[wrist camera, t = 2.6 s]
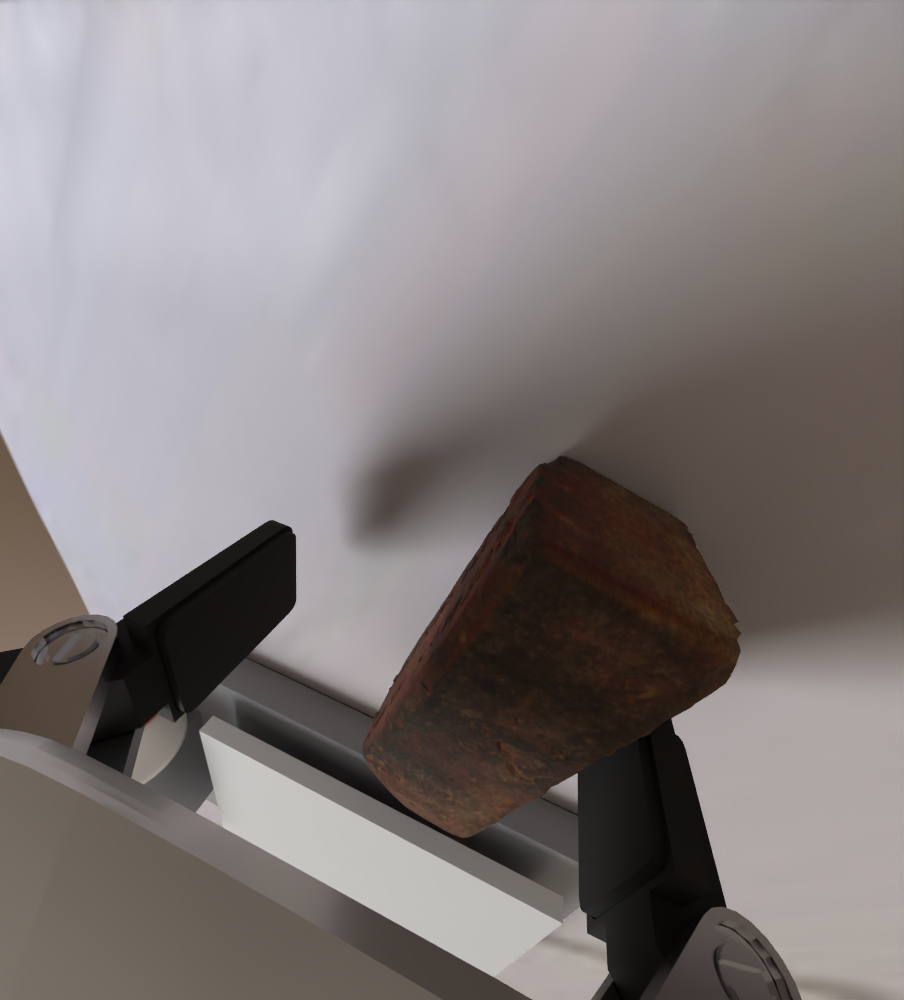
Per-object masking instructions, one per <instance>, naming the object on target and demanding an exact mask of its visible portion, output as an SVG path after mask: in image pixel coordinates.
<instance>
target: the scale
mask: <svg viewBox="0 0 904 1000" xmlns="http://www.w3.org/2000/svg"><path fill="white" fill-rule="evenodd" d="M372 721H373V718H371V717H369V716H367V715H365V714H362V713H360V712H358V711H356V710H354V709H352V708H350V707H348V706H346V705H344V704H341V703H339V702H337V701H335V700H333V699H331V698H329V697H327V696H325V695H323V694H320V693H318V692H316V691H314V690H312V689H310V688H308V687H306V686H304V685H302V684H299V683H297V682H295V681H293V680H291V679H289V678H287V677H285V676H283V675H281V674H278V673H276V672H274V671H272V670H270V669H268V668H266V667H264V666H262V665H260V664H257V663H255V662H253V661H251V660H249V659H247V658H245V659H244V660H243V661H242V662H241V663H240V664H239V665H238V666H237V667H236V668H235V669H234V670H233V671H232V672H231V673H230V674H229V675H228V676H227V677H226V678H225V679H224V680H223V681H222V682H221V683H220V684H219V685H218V686H217V687H216V688H215V689H214V691H213V692H212V693H211V694H210V695H209V696H208V697H207V698H206V699H205V700H204V701H203V702H202V703H201V704H200V705H199V706H198V707H197V708H196V709H195V710H193V711H192V712H189V713H184V714H183V715H182V716H181V717H180V718H179V719H178V720H177V721H176V722H175V723H174V722H172V721H170V720H168V719H166V718H164V717H162V716H160V715H158V714H156V715H155V716H154V717H153V718H151V719H150V720H149V721H148V722H147V723H146V724H145V727H144V731H143V735H142V739H141V743H140V746H139V750H138V754H137V758H136V762H135V766H134V770H133V774H132V777H131V778H132V779H134V780H136V781H138V782H140V783H142V784H144V785H145V786H147V787H149V788H151V789H153V790H155V791H156V792H158V793H160V794H162V795H164V796H166V797H168V798H169V799H171V800H173V801H175V802H177V803H179V804H180V805H182V806H184V807H186V808H188V809H190V810H191V811H193V812H196V811H197V810H198V808H199V807H200V806H201V805H202V803H203V802H204V801H205V800H206V799H207V800H209V801H210V802H212V803H214V804H216V805H217V806H218V808H219V812H220V816H221V820H222V824H223V828H225V829H226V830H228V831H230V832H232V833H234V834H236V835H237V836H239V837H241V838H243V839H245V840H247V841H248V842H250V843H252V844H254V845H256V846H257V847H259V848H261V849H263V850H265V851H267V852H268V853H270V854H272V855H274V856H276V857H277V858H279V859H281V860H283V861H285V862H287V863H288V864H290V865H292V866H294V867H296V868H298V869H299V870H301V871H303V872H305V873H307V874H308V875H310V876H312V877H314V878H316V879H317V880H319V881H321V882H323V883H325V884H327V885H328V886H330V887H332V888H334V889H336V890H337V891H339V892H341V893H343V894H345V895H347V896H348V897H350V898H352V899H354V900H356V901H357V902H359V903H361V904H363V905H365V906H366V907H368V908H370V909H372V910H374V911H375V912H377V913H379V914H381V915H383V916H384V917H386V918H388V919H390V920H392V921H393V922H395V923H397V924H399V925H401V926H402V927H404V928H406V929H408V930H410V931H411V932H413V933H415V934H417V935H419V936H420V937H422V938H424V939H426V940H428V941H429V942H431V943H433V944H435V945H437V946H438V947H440V948H442V949H444V950H445V951H447V952H449V953H451V954H453V955H454V956H456V957H458V958H460V959H462V960H463V961H465V962H467V963H469V964H471V965H472V966H474V967H476V968H478V969H480V970H481V971H483V972H485V973H487V974H489V975H490V976H492V977H494V976H496V975H497V974H498V973H499V972H501V971H502V970H503V969H505V968H506V967H507V966H508V965H510V964H511V963H512V962H514V961H515V960H516V959H517V958H519V957H520V956H521V955H523V954H524V953H525V952H526V951H528V950H529V949H530V948H532V947H533V946H534V945H535V944H537V943H538V942H539V941H541V940H542V939H543V938H544V937H546V936H547V935H548V934H550V933H551V932H552V931H553V930H555V929H556V928H557V927H559V926H560V925H561V924H562V923H563V919H564V918H566V917H567V916H568V915H569V914H571V913H572V912H573V911H574V910H576V909H577V908H578V907H580V903H579V859H578V816H577V815H575V814H572V813H570V812H568V811H566V810H564V809H562V808H560V807H558V806H556V805H554V804H551V803H549V802H547V801H545V800H543V799H541V798H537V799H533V800H531V801H530V802H528V803H526V804H524V805H523V806H521V807H520V808H519V809H517V810H515V811H513V812H512V813H510V814H508V815H506V816H505V817H503V818H502V819H501V820H500V821H498V822H497V823H495V824H493V825H490V826H488V827H487V828H485V829H484V830H483V831H481V832H479V833H477V834H475V835H473V836H471V837H466V838H461V837H459V836H456V835H453V834H451V833H449V832H447V831H445V830H443V829H442V828H440V827H438V826H436V825H435V824H433V823H431V822H429V821H428V820H426V819H424V818H422V817H421V816H419V815H418V814H416V813H415V812H413V811H412V810H410V809H408V808H407V807H405V806H404V805H403V804H402V803H401V802H400V801H399V800H398V799H397V798H396V797H395V796H393V795H392V793H391V792H390V791H389V790H388V789H387V788H386V787H385V786H384V785H383V783H382V782H381V781H380V780H379V779H378V778H377V776H376V775H375V774H374V773H373V772H372V771H371V769H370V768H369V767H368V765H367V763H366V760H365V758H364V756H363V755H362V750H363V749H362V746H363V743H364V740H365V738H366V736H367V733H368V728H369V726H370V725H371V723H372Z"/></svg>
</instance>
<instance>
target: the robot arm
mask: <svg viewBox="0 0 904 1000" xmlns="http://www.w3.org/2000/svg"><path fill="white" fill-rule="evenodd" d="M295 602H296V536H295V534H293V532H292V529H291V527H289V526H287V525H284V524H281V523H279V522H276V521H273V520H270V521H268V522H266V523H264V524H263V525H261V526H260V527H258V528H257V529H255V530H254V531H252V532H251V533H249V534H247V535H246V536H244V537H243V538H241V539H240V540H238V541H237V542H235V543H234V544H232V545H231V546H229V547H228V548H226V549H225V550H223V551H222V552H220V553H218V554H217V555H215V556H214V557H212V558H211V559H209V560H208V561H206V562H205V563H203V564H202V565H200V566H199V567H197V568H196V569H194V570H193V571H191V572H189V573H188V574H186V575H185V576H183V577H182V578H180V579H179V580H177V581H176V582H174V583H173V584H171V585H170V586H168V587H167V588H165V589H164V590H162V591H161V592H159V593H157V594H156V595H154V596H153V597H151V598H150V599H148V600H147V601H145V602H144V603H142V604H141V605H139V606H138V607H136V608H135V609H133V610H132V611H130V612H128V613H127V614H125V615H124V616H123V617H124V618H123V619H122V620H120V621H119V622H117V623H115V621H114V620H112V619H111V618H109V617H107V616H102V615H82V616H78V617H73V618H69V619H66V620H63V621H61V622H58V623H56V624H54V625H52V626H50V627H48V628H46V629H44V630H42V631H41V632H40V633H38V634H37V635H36V636H34V637H33V638H32V639H30V641H29V642H28V643H27V644H26V646H25V647H24V648H21V649H16V650H10V651H5V652H0V1000H532V999H530V998H528V997H526V996H525V995H523V994H521V993H520V992H518V991H516V990H514V989H513V988H511V987H509V986H508V985H506V984H504V983H502V982H501V981H499V980H497V979H496V978H494V977H492V976H490V975H489V974H487V973H485V972H483V971H481V970H480V969H478V968H476V967H474V966H472V965H471V964H469V963H467V962H465V961H463V960H462V959H460V958H458V957H456V956H454V955H453V954H451V953H449V952H447V951H445V950H444V949H442V948H440V947H438V946H437V945H435V944H433V943H431V942H429V941H428V940H426V939H424V938H422V937H420V936H419V935H417V934H415V933H413V932H411V931H410V930H408V929H406V928H404V927H402V926H401V925H399V924H397V923H395V922H393V921H392V920H390V919H388V918H386V917H384V916H383V915H381V914H379V913H377V912H375V911H374V910H372V909H370V908H368V907H366V906H365V905H363V904H361V903H359V902H357V901H356V900H354V899H352V898H350V897H348V896H347V895H345V894H343V893H341V892H339V891H337V890H336V889H334V888H332V887H330V886H328V885H327V884H325V883H323V882H321V881H319V880H317V879H316V878H314V877H312V876H310V875H308V874H307V873H305V872H303V871H301V870H299V869H298V868H296V867H294V866H292V865H290V864H288V863H287V862H285V861H283V860H281V859H279V858H277V857H276V856H274V855H272V854H270V853H268V852H267V851H265V850H263V849H261V848H259V847H257V846H256V845H254V844H252V843H250V842H248V841H247V840H245V839H243V838H241V837H239V836H237V835H236V834H234V833H232V832H230V831H228V830H226V829H225V828H223V827H221V826H219V825H217V824H215V823H214V822H212V821H210V820H208V819H206V818H204V817H203V816H201V815H199V814H197V813H195V812H193V811H191V810H190V809H188V808H186V807H184V806H182V805H180V804H179V803H177V802H175V801H173V800H171V799H169V798H168V797H166V796H164V795H162V794H160V793H158V792H156V791H155V790H153V789H151V788H149V787H147V786H145V785H144V784H142V783H140V782H138V781H136V780H134V779H132V778H131V777H132V774H133V770H134V766H135V762H136V758H137V754H138V750H139V746H140V743H141V739H142V735H143V731H144V727H145V724H146V723H147V722H148V721H149V720H150V719H151V718H153V717H154V716H155V715H156V714H158V715H160V716H162V717H164V718H166V719H168V720H170V721H172V722H174V723H175V722H176V721H177V720H178V719H179V718H180V717H181V716H182V715H183V714H184V713H189V712H192V711H193V710H195V709H196V708H197V707H198V706H199V705H200V704H201V703H202V702H203V701H204V700H205V699H206V698H207V697H208V696H209V695H210V694H211V693H212V692H213V691H214V689H215V688H216V687H217V686H218V685H219V684H220V683H221V682H222V681H223V680H224V679H225V678H226V677H227V676H228V675H229V674H230V673H231V672H232V671H233V670H234V669H235V668H236V667H237V666H238V665H239V664H240V663H241V662H242V661H243V660H244V659H245V658H246V657H247V656H248V655H249V654H250V653H251V652H252V650H253V649H254V648H255V647H256V646H257V645H258V644H259V643H260V642H261V641H262V640H263V639H264V638H265V637H266V636H267V635H268V634H269V633H270V632H271V631H272V630H273V629H274V628H275V627H276V626H277V625H278V624H279V623H280V622H281V621H282V620H283V619H284V618H285V617H286V616H287V615H288V614H289V613H290V611H291V610H292V609H293V607H294V605H295ZM578 859H579V903H580V907H581V910H582V911H583V912H585V913H587V933H588V934H590V935H592V936H594V937H596V938H598V939H600V940H602V941H604V942H606V945H607V964H608V971H609V975H608V976H607V978H606V979H605V980H604V982H603V983H602V985H601V986H600V988H599V989H598V991H597V992H596V993H595V995H594V996H593V998H592V999H591V1000H802V999H801V996H800V994H799V991H798V989H797V986H796V983H795V981H794V980H793V978H792V976H791V974H790V972H789V971H788V969H787V967H786V965H785V963H784V961H783V960H782V958H781V957H780V955H779V954H778V953H777V951H776V950H775V949H774V947H773V946H772V944H771V943H770V942H769V940H768V939H767V938H766V937H765V936H764V935H763V934H762V933H761V932H760V931H759V930H758V929H757V928H756V927H755V925H754V924H753V923H752V922H750V921H749V920H747V919H746V918H745V917H743V916H742V915H740V914H739V913H738V912H736V911H733V910H730V909H728V908H727V907H726V903H725V899H724V895H723V892H722V888H721V884H720V880H719V876H718V872H717V868H716V865H715V861H714V857H713V853H712V849H711V845H710V842H709V838H708V834H707V830H706V826H705V822H704V818H703V815H702V811H701V807H700V803H699V799H698V795H697V792H696V788H695V784H694V780H693V776H692V772H691V768H690V765H689V761H688V757H687V753H686V750H685V747H684V744H683V742H682V740H681V739H680V738H679V736H677V735H675V732H674V728H673V724H672V720H671V719H669V720H667V721H665V722H664V723H662V724H660V725H659V726H658V727H657V728H656V729H655V730H653V731H652V732H651V733H650V734H649V735H646V736H644V737H641V738H638V739H637V740H635V741H633V742H632V743H630V744H629V745H627V746H625V747H623V748H620V749H617V750H616V751H615V753H614V754H613V755H612V756H607V757H602V758H600V759H598V760H597V761H595V762H594V763H593V764H591V765H590V766H588V767H587V768H585V769H584V770H582V771H580V772H578Z"/></svg>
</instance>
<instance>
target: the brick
mask: <svg viewBox="0 0 904 1000" xmlns="http://www.w3.org/2000/svg"><path fill="white" fill-rule="evenodd" d="M687 528H688V527H687V526H686V524H684V523H683V522H681V521H680V520H678V519H677V518H675V517H674V516H672V515H670V514H669V513H667V512H665V511H663V510H662V509H660V508H658V507H656V506H655V505H653V504H651V503H649V502H648V501H646V500H644V499H642V498H641V497H639V496H637V495H635V494H633V493H632V492H630V491H628V490H626V489H625V488H623V487H621V486H620V485H618V484H616V483H614V482H613V481H611V480H609V479H607V478H605V477H604V476H602V475H600V474H598V473H597V472H595V471H593V470H591V469H590V468H588V467H586V466H585V465H583V464H581V463H579V462H577V461H575V460H572V459H570V458H568V457H565V456H559V457H558V458H557V459H556V460H555V461H553V462H550V463H549V464H546V463H543V464H540V465H539V466H538V467H536V468H535V469H534V470H533V472H532V473H531V474H530V475H529V476H528V477H527V478H526V480H525V481H524V483H523V484H522V485H521V486H520V487H519V488H518V489H517V491H516V492H515V494H514V496H513V497H512V499H511V501H510V505H509V506H508V508H507V509H506V511H505V513H504V514H503V515H502V516H501V517H500V518H499V519H498V521H497V522H496V524H495V525H494V527H493V528H492V530H491V531H490V532H489V533H488V535H487V536H486V538H485V540H484V541H483V543H482V545H481V547H480V548H479V550H478V551H477V552H476V554H475V555H474V557H473V558H472V560H471V561H470V562H469V564H468V565H467V567H466V568H465V570H464V571H463V573H462V575H461V576H460V578H459V579H458V581H457V582H456V584H455V585H454V587H453V589H452V591H451V592H450V594H449V595H448V597H447V598H446V600H445V601H444V603H443V604H442V606H441V607H440V609H439V610H438V612H437V614H436V615H435V617H434V618H433V620H432V621H431V622H430V624H429V625H428V627H427V628H426V630H425V631H424V633H423V634H422V636H421V637H420V639H419V640H418V642H417V644H416V646H415V647H414V649H413V650H412V652H411V653H410V655H409V656H408V658H407V660H406V661H405V663H404V665H403V667H402V669H401V671H400V673H399V674H398V675H397V676H396V677H395V679H394V680H393V682H394V683H393V685H392V687H391V688H389V692H388V694H387V696H386V698H385V700H384V702H383V704H382V706H381V708H380V710H379V712H378V713H377V714H376V715H375V717H374V719H373V721H372V723H371V725H370V726H369V728H368V733H367V736H366V738H365V740H364V743H363V746H362V749H363V750H362V755H363V756H364V758H365V760H366V763H367V765H368V767H369V768H370V769H371V771H372V772H373V773H374V774H375V775H376V776H377V778H378V779H379V780H380V781H381V782H382V783H383V785H384V786H385V787H386V788H387V789H388V790H389V791H390V792H391V793H392V795H393V796H395V797H396V798H397V799H398V800H399V801H400V802H401V803H402V804H403V805H404V806H405V807H407V808H408V809H410V810H412V811H413V812H415V813H416V814H418V815H419V816H421V817H422V818H424V819H426V820H428V821H429V822H431V823H433V824H435V825H436V826H438V827H440V828H442V829H443V830H445V831H447V832H449V833H451V834H453V835H456V836H459V837H461V838H466V837H471V836H473V835H475V834H477V833H479V832H481V831H483V830H484V829H485V828H487V827H488V826H490V825H493V824H495V823H497V822H498V821H500V820H501V819H502V818H503V817H505V816H506V815H508V814H510V813H512V812H513V811H515V810H517V809H519V808H520V807H521V806H523V805H524V804H526V803H528V802H530V801H531V800H533V799H537V798H539V797H541V796H542V795H544V794H545V793H546V792H547V791H548V790H549V788H550V787H552V786H554V785H557V784H559V783H560V782H562V781H564V780H566V779H567V778H569V777H571V776H573V775H575V774H577V773H578V772H580V771H582V770H584V769H585V768H587V767H588V766H590V765H591V764H593V763H594V762H595V761H597V760H598V759H600V758H602V757H607V756H612V755H613V754H614V753H615V751H616V750H617V749H620V748H623V747H625V746H627V745H629V744H630V743H632V742H633V741H635V740H637V739H638V738H641V737H644V736H646V735H649V734H650V733H651V732H652V731H653V730H655V729H656V728H657V727H658V726H659V725H660V724H662V723H664V722H665V721H667V720H669V719H671V718H673V717H674V716H676V715H678V714H680V713H682V712H683V711H685V710H687V709H689V708H691V707H692V706H693V705H694V704H695V703H697V702H698V701H700V700H702V699H703V698H705V697H707V696H708V695H710V694H711V693H713V692H714V691H716V690H717V689H718V688H720V687H721V686H723V685H724V684H725V683H726V682H727V680H728V679H729V677H730V676H731V674H732V672H733V670H734V668H735V666H736V663H737V660H738V657H739V654H740V647H739V644H738V642H737V639H738V637H739V636H740V634H741V632H740V631H739V630H738V629H737V627H736V626H735V625H734V624H735V623H737V622H738V620H737V619H736V617H735V615H734V614H733V612H732V611H731V609H730V608H729V607H728V606H727V605H726V603H725V602H724V600H723V597H722V595H721V592H720V590H719V587H718V585H717V583H716V582H715V580H714V578H713V577H712V575H711V573H710V571H709V570H708V568H707V566H706V564H705V562H704V560H703V558H702V556H701V554H700V552H699V551H698V549H697V548H696V545H695V542H694V540H693V537H692V535H691V533H690V532H689V531H688V530H687Z"/></svg>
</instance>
